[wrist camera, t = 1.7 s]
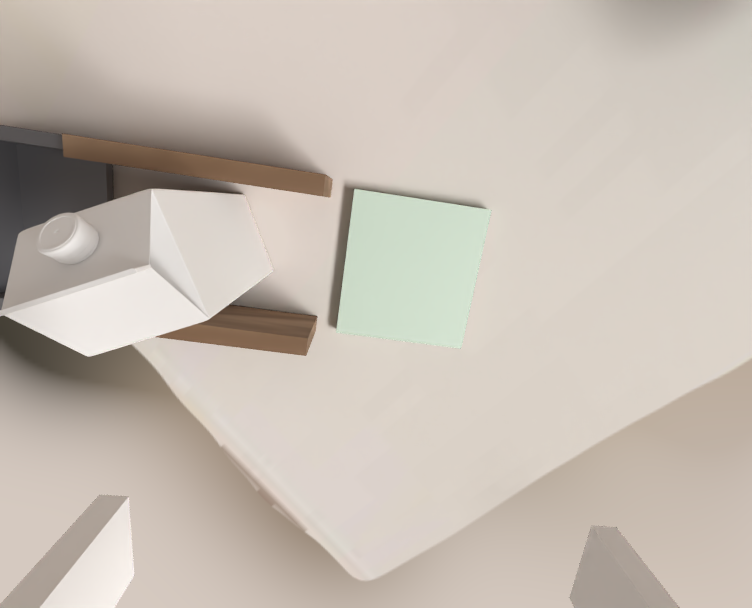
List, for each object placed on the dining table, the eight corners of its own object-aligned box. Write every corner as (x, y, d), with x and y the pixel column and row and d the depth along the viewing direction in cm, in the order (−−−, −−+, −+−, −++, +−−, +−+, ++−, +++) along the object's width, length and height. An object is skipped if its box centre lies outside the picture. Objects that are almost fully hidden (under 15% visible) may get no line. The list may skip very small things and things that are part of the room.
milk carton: (275, 270, 35) (173, 348, 16) (203, 293, 35) (23, 394, 17) (245, 193, 33) (93, 182, 14) (169, 218, 33) (-73, 237, 15)
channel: (117, 146, 31) (61, 133, 26) (332, 179, 33) (325, 174, 27) (122, 306, 35) (73, 326, 29) (315, 331, 36) (306, 355, 30)
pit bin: (10, 129, 31) (-47, 117, 27) (111, 145, 31) (71, 136, 27) (26, 293, 34) (-23, 306, 30) (116, 305, 35) (81, 320, 31)
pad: (354, 189, 33) (354, 188, 32) (487, 209, 34) (491, 209, 33) (336, 329, 36) (336, 332, 35) (458, 344, 37) (461, 348, 36)
